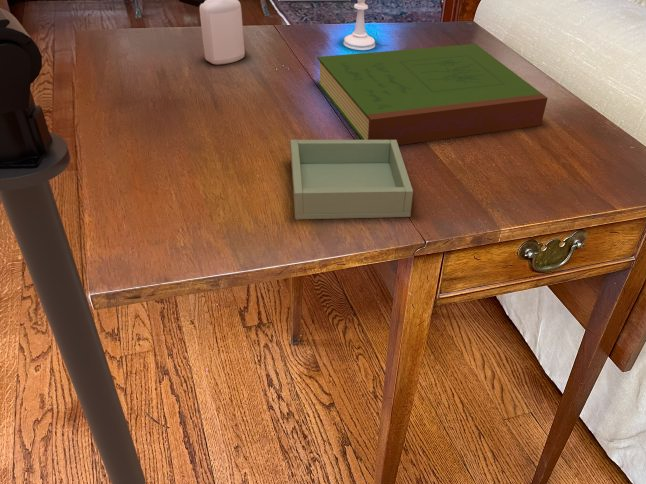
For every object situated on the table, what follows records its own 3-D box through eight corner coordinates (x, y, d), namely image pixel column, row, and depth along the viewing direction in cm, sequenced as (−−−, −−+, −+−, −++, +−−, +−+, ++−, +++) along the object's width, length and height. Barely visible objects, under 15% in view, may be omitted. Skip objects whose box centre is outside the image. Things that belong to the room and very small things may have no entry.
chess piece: (377, 40, 101) (381, -28, 95) (372, 52, 97) (376, -19, 91) (346, 37, 101) (348, -32, 95) (341, 48, 98) (342, -23, 91)
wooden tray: (295, 219, 63) (294, 192, 61) (291, 165, 71) (290, 139, 68) (410, 217, 65) (413, 191, 63) (394, 164, 73) (396, 139, 70)
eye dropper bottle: (247, 64, 90) (240, -28, 82) (206, 65, 88) (195, -28, 81) (243, 52, 93) (236, -38, 85) (203, 53, 92) (193, -38, 84)
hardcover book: (369, 149, 75) (370, 119, 72) (317, 84, 87) (317, 56, 85) (545, 124, 84) (552, 97, 81) (476, 68, 96) (480, 43, 93)
